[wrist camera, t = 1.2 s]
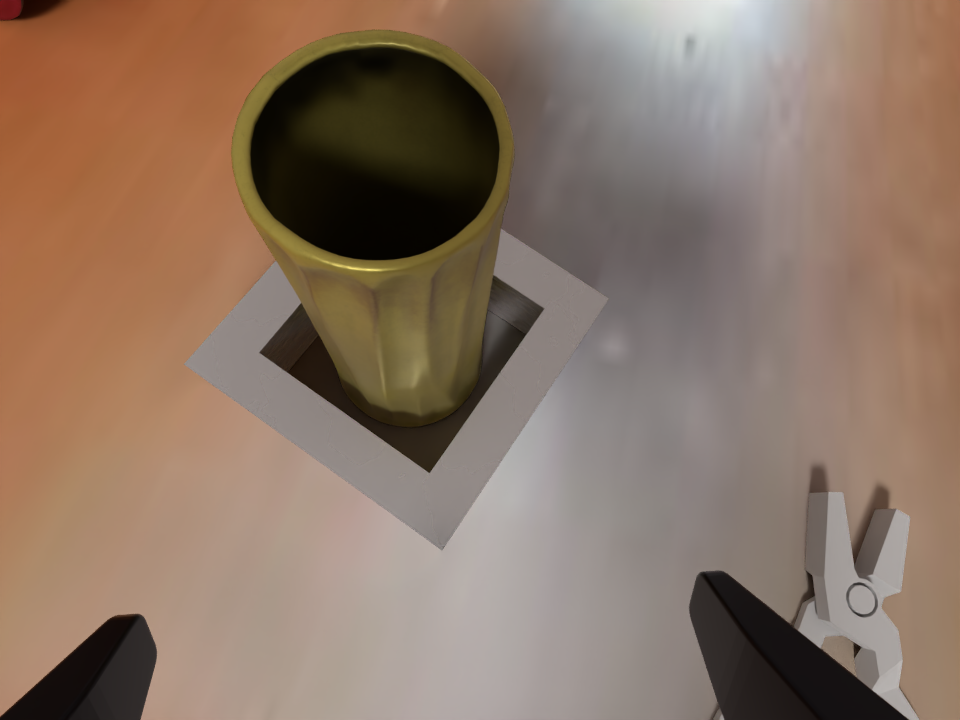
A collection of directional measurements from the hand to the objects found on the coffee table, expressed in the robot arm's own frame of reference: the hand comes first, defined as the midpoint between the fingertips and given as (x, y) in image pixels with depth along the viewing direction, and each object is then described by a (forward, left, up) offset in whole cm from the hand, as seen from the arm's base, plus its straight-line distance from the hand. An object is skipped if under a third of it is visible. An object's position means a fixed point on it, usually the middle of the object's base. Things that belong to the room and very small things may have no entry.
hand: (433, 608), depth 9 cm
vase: (+6, +6, -13) cm, 16 cm away
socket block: (+6, +6, -13) cm, 16 cm away
